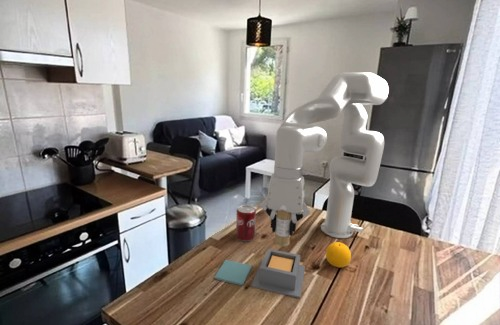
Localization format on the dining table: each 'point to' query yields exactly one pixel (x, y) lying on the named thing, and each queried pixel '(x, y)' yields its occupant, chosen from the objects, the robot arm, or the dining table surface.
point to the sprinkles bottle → (282, 227)
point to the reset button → (281, 263)
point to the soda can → (245, 223)
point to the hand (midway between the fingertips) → (282, 231)
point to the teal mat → (233, 272)
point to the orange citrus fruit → (338, 254)
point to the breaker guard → (280, 275)
